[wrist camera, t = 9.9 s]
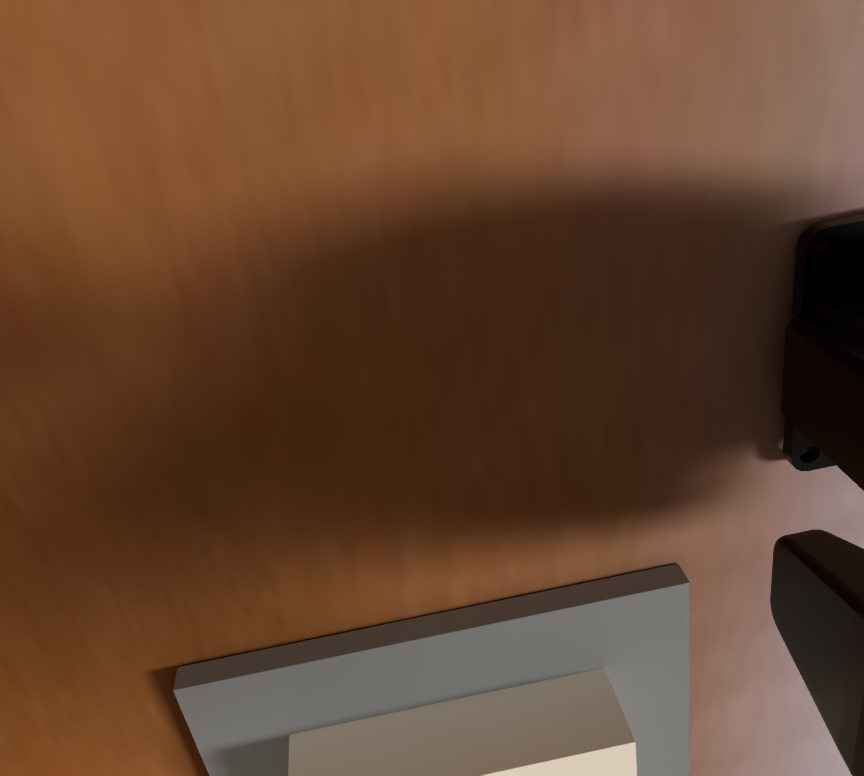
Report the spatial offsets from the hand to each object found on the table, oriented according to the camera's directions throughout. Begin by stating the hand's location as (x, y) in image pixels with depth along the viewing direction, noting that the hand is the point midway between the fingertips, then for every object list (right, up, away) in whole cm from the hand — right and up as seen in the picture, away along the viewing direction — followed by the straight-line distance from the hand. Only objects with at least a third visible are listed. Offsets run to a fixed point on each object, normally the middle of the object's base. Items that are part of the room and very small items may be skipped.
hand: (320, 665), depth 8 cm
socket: (+2, -10, +18) cm, 20 cm away
